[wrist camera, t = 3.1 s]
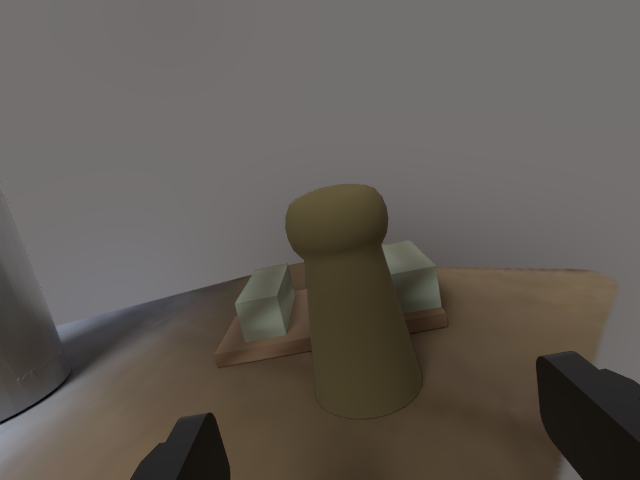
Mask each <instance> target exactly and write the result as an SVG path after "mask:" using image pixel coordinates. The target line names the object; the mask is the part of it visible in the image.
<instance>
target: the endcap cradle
mask: <svg viewBox="0 0 640 480" xmlns="http://www.w3.org/2000/svg"><path fill="white" fill-rule="evenodd" d="M382 248H383V252H384V255H385V258H386V261H387V264H388V268H389V271H390V274H391V277H392V280H393V284H394V287H395V290H396V293H397V296H398V300H399V303H400V306H401V309H402V312H403V315H404V319H405V322H406V325H407V328H408V331H409V333H414V332H420V331H425V330H431V329H436V328H442V327H448V322H447V315H446V312H445V311H444V309H443V308H442V307H441V299H440V292H439V285H438V278H437V271H436V266H435V265H434V264H433V263H432V262H431V261H430V260H429V259H428V258H427V257H426V256H425V255H424V254H423V253H422V252H421V251H420V250H419V249H418V248H417V247H416V246H415V245H414V244H412V243H411V242H410V241H409V240H408V241H403V242H398V243H393V244H388V245H382ZM235 307H236V310H237V314H236V316H235V318H234V320H233V321H232V323H231V325H230V327H229V329H228V330H227V332H226V334H225V336H224V337H223V339H222V341H221V343H220V345H219V346H218V348H217V350H216V352H215V353H214V357H215V361H216V364H217V367H223V366H229V365H235V364H240V363H246V362H251V361H257V360H263V359H268V358H274V357H280V356H285V355H291V354H296V353H302V352H308V351H312V348H311V336H310V324H309V312H308V300H307V289H302V290H297V291H294V288H293V284H292V280H291V275H290V271H289V266H288V264H283V265H278V266H273V267H267V268H262V269H257V270H255V271H254V273H253V275H252V276H251V278H250V280H249V281H248V283H247V284H246V286H245V288H244V289H243V291H242V293H241V294H240V296H239V297H238V299H237V301H236V302H235Z"/></svg>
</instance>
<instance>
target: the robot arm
mask: <svg viewBox="0 0 640 480" xmlns="http://www.w3.org/2000/svg"><path fill="white" fill-rule="evenodd" d="M70 370H71V367H70V364H69V362H68V359H67V356H66V354H65V351H64V348H63V346H62V343H61V340H60V338H59V335H58V332H57V330H56V327H55V324H54V321H53V319H52V316H51V313H50V311H49V308H48V306H47V303H46V300H45V297H44V295H43V292H42V290H41V287H40V284H39V282H38V279H37V276H36V274H35V271H34V269H33V266H32V263H31V261H30V258H29V255H28V253H27V250H26V247H25V245H24V242H23V240H22V237H21V235H20V232H19V229H18V226H17V224H16V221H15V219H14V216H13V213H12V211H11V208H10V206H9V203H8V200H7V198H6V195H5V193H4V190H3V187H2V185H1V182H0V422H1V421H3V420H5V419H7V418H9V417H11V416H13V415H15V414H17V413H18V412H20V411H22V410H24V409H26V408H27V407H29V406H31V405H33V404H34V403H36V402H37V401H39V400H40V399H42V398H43V397H45V396H46V395H48V394H49V393H50V392H52V391H53V390H54V389H56V388H57V387H58V386H59V385H60V384H61V383H62V382H63V381H64V380H65V379H66V378H67V376H68V375H69V374H70ZM536 371H537V382H538V393H539V405H540V414H541V418H542V422H543V425H544V427H545V430H546V432H547V434H548V435H549V437H550V439H551V440H552V442H553V443H554V444H555V446H556V447H557V448H558V449H559V451H560V452H561V453H562V454H563V456H564V457H565V458H566V459H567V460H568V462H569V463H570V464H571V465H572V467H573V468H574V469H575V470H576V472H577V473H578V474H579V475H580V477H581V478H582V479H583V480H640V385H639V384H638V383H637V382H635V381H634V380H631V379H629V378H627V377H624V376H622V375H620V374H617V373H615V372H612V371H610V370H607V369H601V370H599V369H597V368H596V367H595V366H593V365H592V364H591V363H590V362H588V361H587V360H586V359H584V358H583V357H582V356H580V355H579V354H578V353H576V352H574V351H568V352H562V353H556V354H551V355H545V356H539V357H538V358H537V361H536ZM130 480H230V466H229V462H228V458H227V455H226V452H225V448H224V445H223V442H222V438H221V435H220V432H219V428H218V425H217V422H216V419H215V416H214V415H213V414H212V413H204V414H199V415H193V416H187V417H181V418H180V419H179V420H178V421H177V423H176V424H175V426H174V428H173V430H172V432H171V433H170V435H169V437H168V439H167V440H166V442H165V443H159V444H158V445H157V446H156V447H155V448H154V449H153V450H152V451H151V452H150V453H149V454H148V455H147V456H146V457H145V458H144V459H143V460H142V461H141V462H140V464H139V466H138V467H137V469H136V471H135V472H134V474H133V476H132V477H131V479H130Z"/></svg>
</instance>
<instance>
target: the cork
mask: <svg viewBox="0 0 640 480" xmlns="http://www.w3.org/2000/svg"><path fill="white" fill-rule="evenodd" d="M387 227H388V213H387V207H386V205H385V202H384V200H383V198H382V196H381V195H380V194H379V193H378V191H377V190H376V189H375V188H373V187H370V186H367V185H360V184H341V185H334V186H329V187H324V188H320V189H317V190H314V191H312V192H309V193H307V194H305V195H303V196H301V197H299V198H297V199H295V200H294V201H293V202H292V203H291V204H290V205H289V207H288V210H287V214H286V226H285V229H286V233H287V237H288V240H289V242H290V244H291V246H292V248H293V250H294V251H295V252H296V253H297V254H298V255H299V256H300V257H301V258H302V259H304V265H305V277H306V289H307V300H308V312H309V324H310V336H311V348H312V360H313V371H314V383H315V395H316V399H317V401H318V402H319V403H320V405H321V406H322V408H324V409H326V410H327V411H329V412H330V413H332V414H334V415H337V416H341V417H345V418H349V419H371V418H376V417H380V416H385V415H389V414H391V413H393V412H395V411H397V410H399V409H401V408H403V407H405V406H406V405H408V404H409V403H410V402H411V401H412V400H413V399H414V398H415V397H417V395H418V393H419V391H420V389H421V387H422V373H421V370H420V367H419V363H418V360H417V357H416V354H415V351H414V347H413V344H412V341H411V338H410V335H409V331H408V328H407V325H406V322H405V319H404V315H403V312H402V309H401V306H400V303H399V300H398V296H397V293H396V290H395V287H394V284H393V280H392V277H391V274H390V271H389V268H388V264H387V261H386V258H385V255H384V252H383V248H382V245H381V244H382V242H383V240H384V238H385V235H386V233H387Z"/></svg>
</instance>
